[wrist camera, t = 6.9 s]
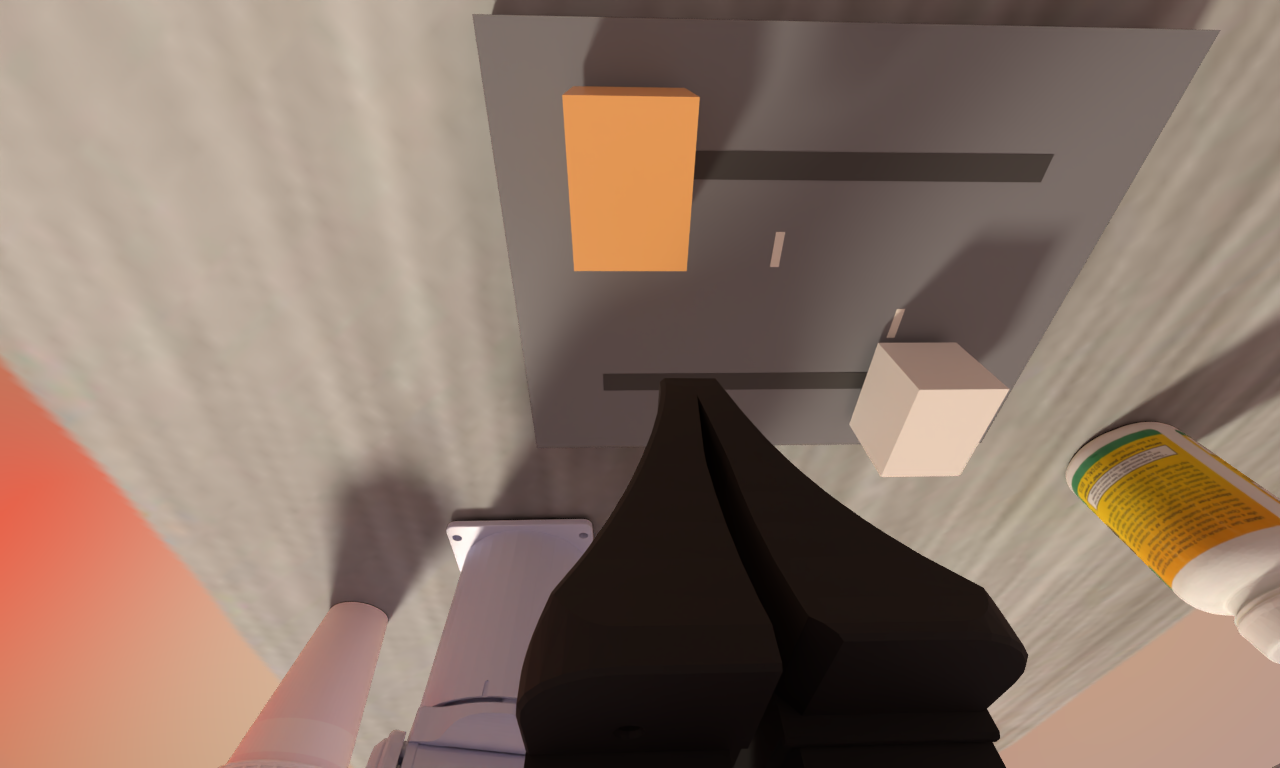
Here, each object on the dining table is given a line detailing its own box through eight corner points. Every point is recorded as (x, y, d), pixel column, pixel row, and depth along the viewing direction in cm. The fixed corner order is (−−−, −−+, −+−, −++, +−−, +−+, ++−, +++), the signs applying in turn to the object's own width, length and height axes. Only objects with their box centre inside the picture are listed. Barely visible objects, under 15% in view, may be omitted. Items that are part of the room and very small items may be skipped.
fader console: (955, 414, 23) (981, 443, 21) (543, 418, 22) (537, 448, 21) (1152, 32, 14) (1221, 29, 13) (490, 18, 14) (471, 13, 12)
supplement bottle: (1199, 418, 24) (1482, 599, 16) (1130, 491, 27) (1339, 673, 19) (1098, 416, 24) (1337, 600, 16) (1040, 490, 27) (1215, 674, 19)
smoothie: (359, 579, 29) (192, 919, 18) (429, 626, 33) (326, 936, 21) (284, 607, 31) (85, 937, 19) (358, 649, 34) (226, 951, 23)
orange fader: (675, 235, 15) (686, 271, 13) (581, 234, 15) (574, 271, 13) (684, 87, 13) (699, 97, 10) (573, 86, 13) (562, 94, 10)
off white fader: (918, 424, 20) (959, 475, 18) (849, 424, 20) (881, 477, 18) (956, 342, 18) (1009, 389, 15) (878, 342, 18) (919, 389, 15)
